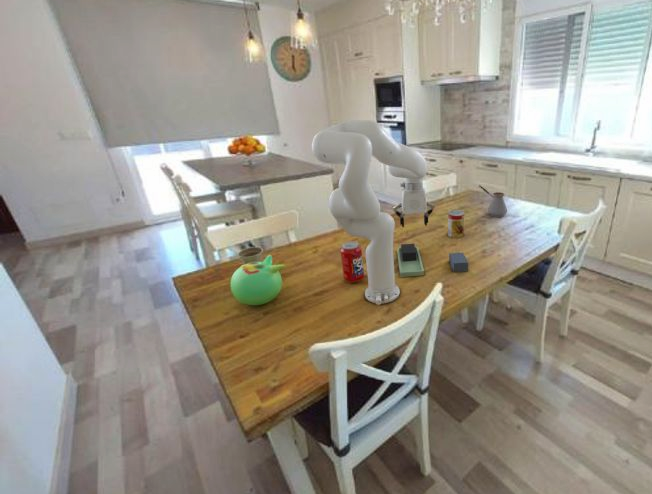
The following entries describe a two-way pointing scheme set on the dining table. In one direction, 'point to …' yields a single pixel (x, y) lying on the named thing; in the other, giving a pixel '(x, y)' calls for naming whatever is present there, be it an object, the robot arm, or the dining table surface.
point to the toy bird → (257, 282)
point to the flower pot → (251, 255)
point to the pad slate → (458, 262)
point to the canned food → (455, 223)
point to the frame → (410, 265)
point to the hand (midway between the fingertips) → (414, 225)
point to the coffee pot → (496, 204)
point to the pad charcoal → (408, 252)
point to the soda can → (352, 261)
